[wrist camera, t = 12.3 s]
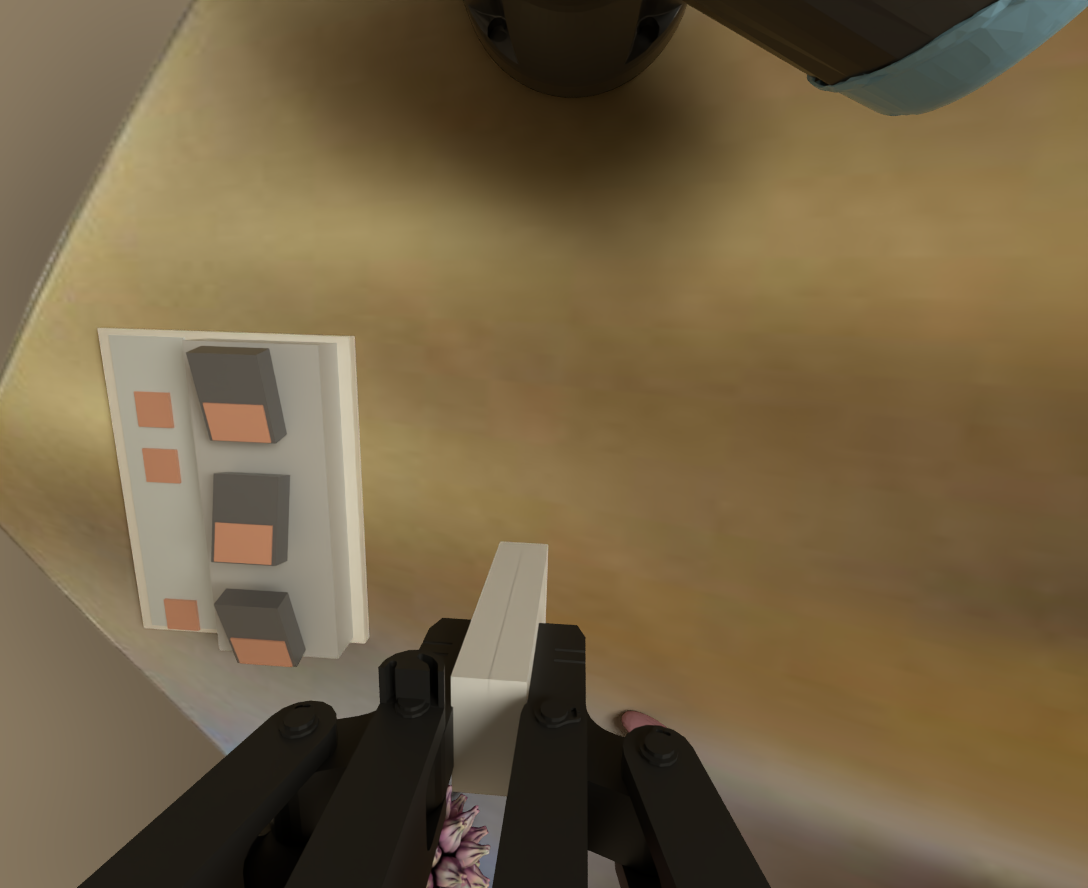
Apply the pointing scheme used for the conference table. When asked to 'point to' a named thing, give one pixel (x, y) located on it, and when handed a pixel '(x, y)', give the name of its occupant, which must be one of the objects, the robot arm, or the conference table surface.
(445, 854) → the flower
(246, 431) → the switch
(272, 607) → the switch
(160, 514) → the switch panel
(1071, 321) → the conference table surface
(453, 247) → the conference table surface
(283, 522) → the middle switch
